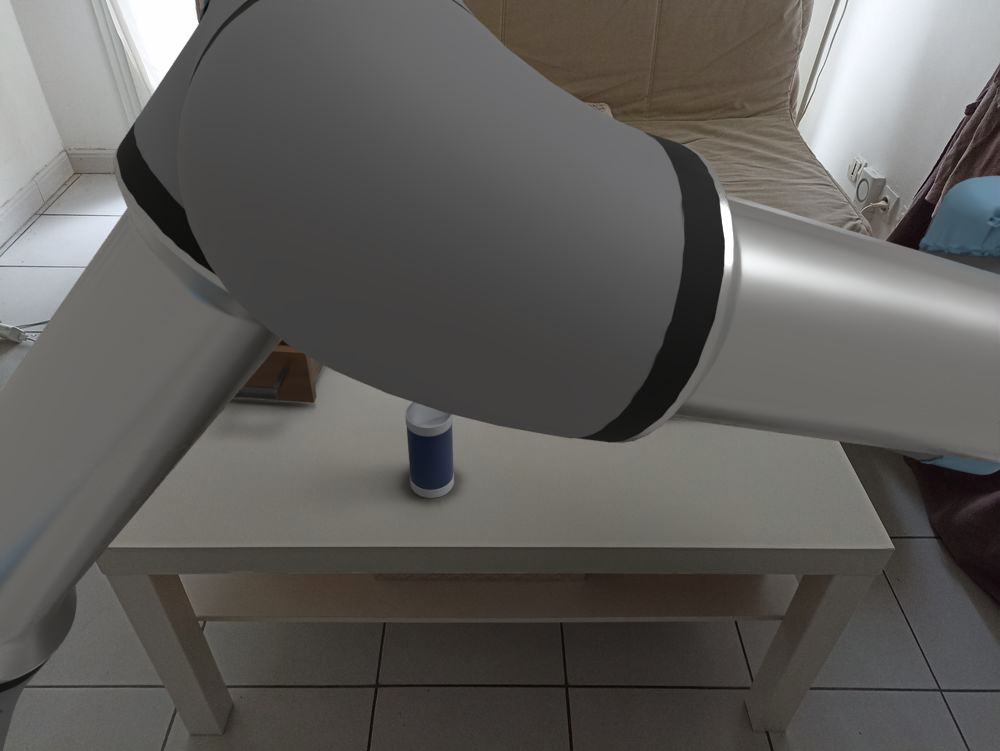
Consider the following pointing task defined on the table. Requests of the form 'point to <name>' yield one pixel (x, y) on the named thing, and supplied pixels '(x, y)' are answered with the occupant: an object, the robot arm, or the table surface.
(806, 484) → the table surface
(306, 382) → the drawer
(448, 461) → the blue cylindrical container
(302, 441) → the table surface
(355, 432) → the table surface
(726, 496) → the table surface
